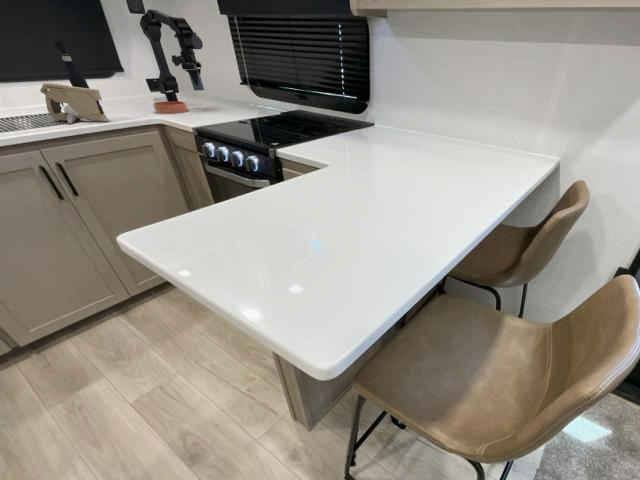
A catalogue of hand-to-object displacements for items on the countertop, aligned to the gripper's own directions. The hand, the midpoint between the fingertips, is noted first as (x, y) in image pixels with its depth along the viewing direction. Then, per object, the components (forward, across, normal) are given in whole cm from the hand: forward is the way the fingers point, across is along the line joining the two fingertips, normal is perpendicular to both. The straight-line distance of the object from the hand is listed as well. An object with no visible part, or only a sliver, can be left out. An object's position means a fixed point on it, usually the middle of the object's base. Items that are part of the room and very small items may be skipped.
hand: (197, 84), depth 180 cm
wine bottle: (+12, +4, -53) cm, 55 cm away
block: (+2, 0, 0) cm, 2 cm away
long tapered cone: (+12, +26, -52) cm, 59 cm away
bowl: (+12, +4, -16) cm, 21 cm away
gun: (+12, +28, -49) cm, 57 cm away
